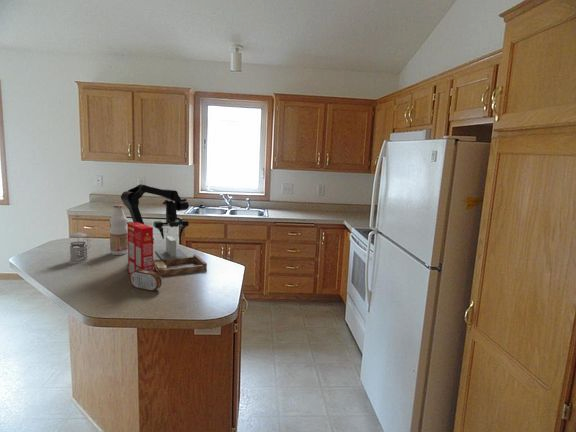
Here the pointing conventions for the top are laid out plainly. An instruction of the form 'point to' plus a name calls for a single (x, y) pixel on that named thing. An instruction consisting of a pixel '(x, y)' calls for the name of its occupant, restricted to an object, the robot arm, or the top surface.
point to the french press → (74, 251)
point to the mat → (165, 255)
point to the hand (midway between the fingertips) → (171, 238)
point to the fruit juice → (118, 232)
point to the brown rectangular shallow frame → (182, 270)
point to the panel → (171, 246)
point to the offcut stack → (160, 267)
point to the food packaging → (140, 247)
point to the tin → (145, 279)
